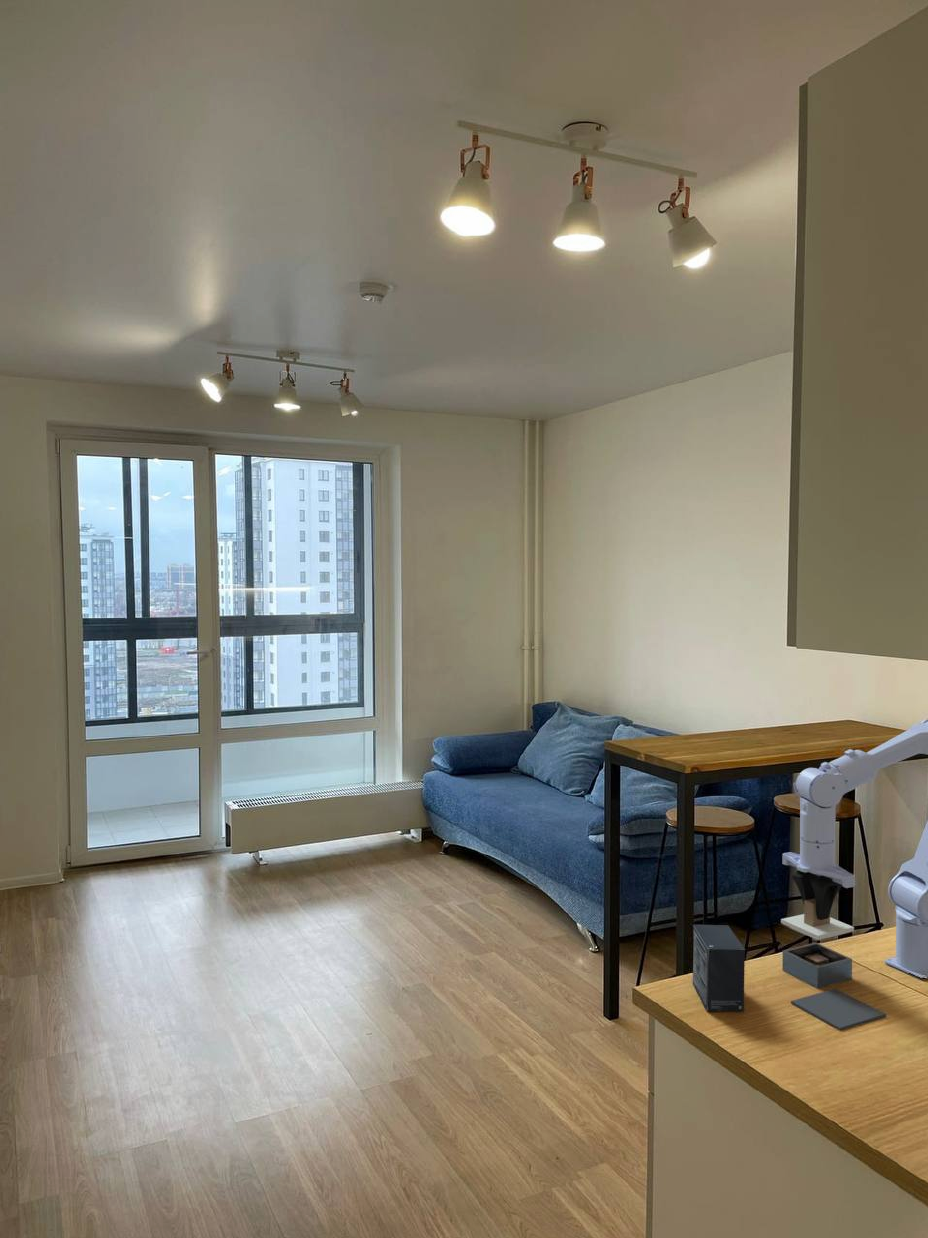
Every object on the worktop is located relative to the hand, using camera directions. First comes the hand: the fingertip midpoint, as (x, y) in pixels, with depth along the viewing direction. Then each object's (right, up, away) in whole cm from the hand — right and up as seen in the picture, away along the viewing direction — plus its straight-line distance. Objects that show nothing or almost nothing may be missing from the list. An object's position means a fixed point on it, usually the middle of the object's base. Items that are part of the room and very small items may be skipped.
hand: (817, 915), depth 160 cm
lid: (0, -3, 0) cm, 2 cm away
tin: (0, -10, +1) cm, 10 cm away
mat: (-1, -11, -12) cm, 17 cm away
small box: (-19, -11, -7) cm, 24 cm away
